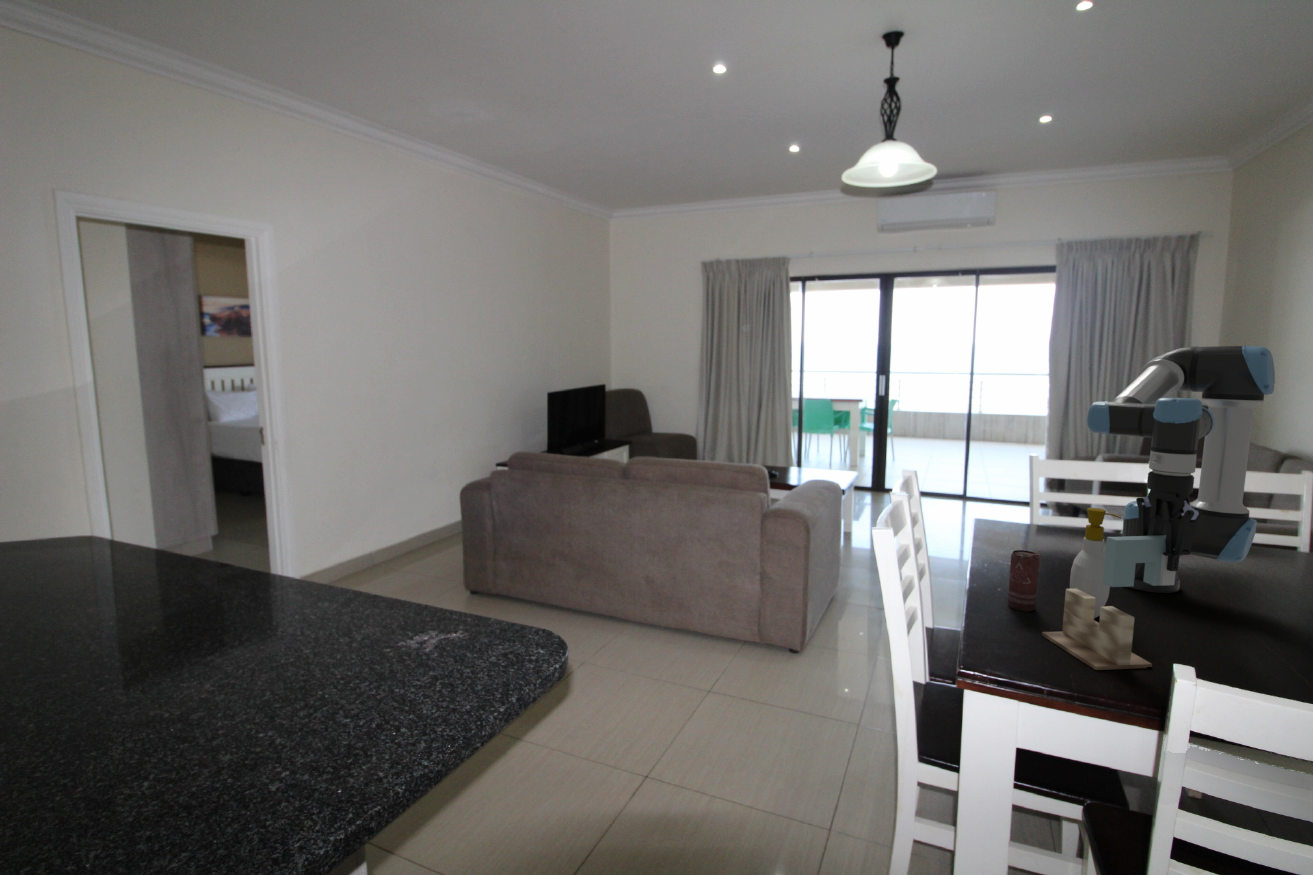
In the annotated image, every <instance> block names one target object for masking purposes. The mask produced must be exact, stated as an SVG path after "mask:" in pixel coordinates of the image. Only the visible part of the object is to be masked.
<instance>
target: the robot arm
mask: <svg viewBox="0 0 1313 875" xmlns="http://www.w3.org/2000/svg"><path fill="white" fill-rule="evenodd" d="M1275 384H1276V374H1275V363H1274V358H1273V354H1272V352H1271V350H1270V349H1269V348H1267V347H1266V346H1258V345H1256V346H1255V345H1253V346H1252V345H1221V346H1220V345H1219V346H1198V345H1197V346H1185V347H1180V348H1177V349H1174V350H1173V349H1172V350H1170V351H1168V352H1164V353H1162V354H1160V355H1158V356H1156V357H1154V358H1152V359H1151V360H1150V361H1147V362H1146V363H1145V364H1144V365H1142V367H1141V368H1140V370H1139V371H1138V376H1137V377H1136V378H1135V379H1134V380H1133V381H1132V382H1131V383H1130V384H1128V385H1127V387H1126V388H1124V389H1123V391H1121V393H1119V394H1118V395H1117V396H1116V397H1115V398H1114V399H1112V400H1111V401H1107V400H1104V401H1094V402H1093V403H1092V404H1091V405H1090V406H1089V408H1088V411H1087V417H1086V419H1087V420H1086V421H1087V422H1086V423H1087V427H1088V429H1089V431H1090V432H1092V433H1093V434H1094V433H1095V434H1103V435H1106V436H1107V435H1111V436H1124V437H1126V436H1127V437H1139V438H1140V437H1141V438H1151V443H1150V444H1151V445H1150V454H1149V465H1148V468H1149V469H1150V470H1151V471H1149V472H1148V473H1147V481H1146V482H1147V484H1146V487H1147V489H1148V490H1149V491H1148V493H1147V496H1143V497H1137V498H1136V500H1134V501H1130V502H1128V503H1126V505H1125V507H1124V512H1123V513H1124V515H1123V517H1122V520H1123V524H1122V532H1121V537H1126V536H1163V535H1166V552H1163V554H1162V560H1161V570H1160V579H1159V584H1160V585H1158V586H1153V585H1151V584H1148V583H1146V582H1143V581H1144V570H1145V563H1136V566H1135V576H1134V586H1129V587H1128V588H1129V589H1134V590H1137V591H1143V592H1149V593H1157V594H1158V593H1159V594H1161V593H1162V594H1172V593H1176V592H1178V591H1180V587H1181V586H1180V584H1181V582H1180V581H1181V580H1180V578H1179V577H1178V576H1179V575H1178V570H1179V562H1180V557H1181V556H1193V557H1194V556H1195V557H1200V558H1204V559H1209V560H1216V562H1220V561H1221V562H1226V563H1235V564H1237V563H1241V562H1242V561H1244V559H1245V558H1246V557H1247V555H1248V554H1249V551H1250V550H1251V549H1250V548H1251V546H1252V544H1253V542H1254V539H1255V535H1256V531H1257V525H1258V522H1257V521H1258V520H1256V519H1254V518H1252V517H1250V512H1251V511H1250V510H1249V509H1248V508H1247V507H1246V505H1244V503H1243V502H1244V501H1243V500H1244V495H1245V494H1244V492H1245V487H1246V486H1245V485H1246V477H1247V470H1248V469H1247V466H1248V459H1249V452H1250V446H1251V445H1250V444H1251V436H1252V428H1253V421H1254V414H1255V413H1254V412H1255V409H1256V407H1258V406H1260V405H1261V404H1263V403H1264V399H1265V396H1268V395H1272V394H1273V393H1274V391H1275ZM1175 392H1195V393H1202V394H1201V399H1198V398H1190V397H1168V395H1172V394H1173V393H1175ZM1201 400H1202V401H1201ZM1203 402H1204V404H1206V405H1207V407H1204V406H1203V404H1202V403H1203ZM1203 438H1204V442H1203V450H1202V451H1203V452H1202V459H1201V469H1200V477H1199V484H1198V494H1197V498H1196V499H1194V500H1193V501H1192V502H1191V501H1190V498H1189V496H1190V495H1191V494H1192V493H1193V492H1194V483H1195V477H1194V475H1193V474H1194V473H1195V472H1196V466H1197V453H1198V445H1199V440H1201V439H1203ZM1173 549H1175V550H1173ZM1175 571H1176V574H1175ZM1174 580H1175V584H1174Z"/></svg>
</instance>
